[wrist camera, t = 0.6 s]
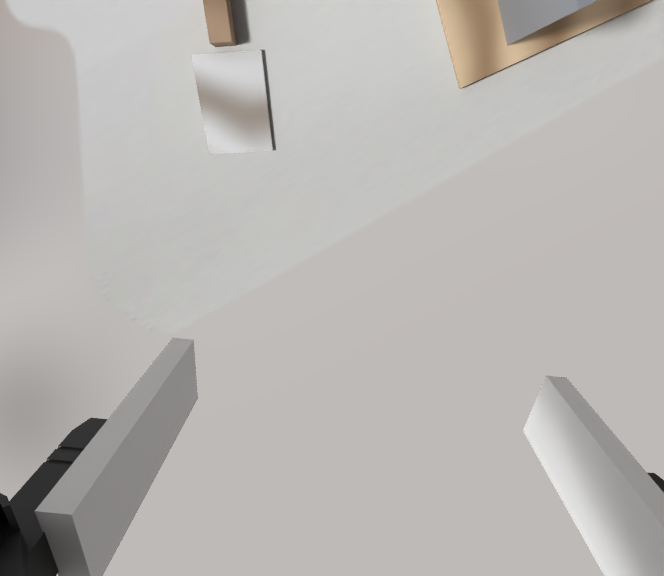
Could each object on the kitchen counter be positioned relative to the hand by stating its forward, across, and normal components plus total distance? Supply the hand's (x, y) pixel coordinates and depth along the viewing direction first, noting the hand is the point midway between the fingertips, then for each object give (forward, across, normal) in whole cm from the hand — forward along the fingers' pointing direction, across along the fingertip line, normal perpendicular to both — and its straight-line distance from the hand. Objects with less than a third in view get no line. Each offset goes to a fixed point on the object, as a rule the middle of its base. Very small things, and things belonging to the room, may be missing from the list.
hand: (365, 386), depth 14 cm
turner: (+26, -13, +14) cm, 32 cm away
